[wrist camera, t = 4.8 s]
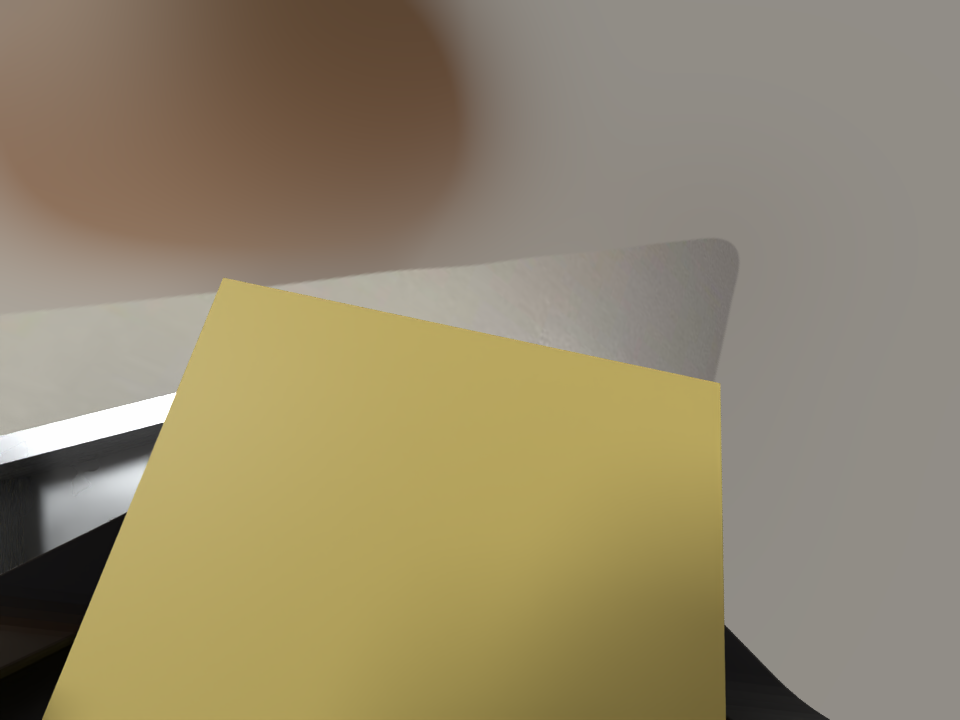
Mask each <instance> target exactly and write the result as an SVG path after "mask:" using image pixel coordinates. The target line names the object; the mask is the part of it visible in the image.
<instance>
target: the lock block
mask: <svg viewBox="0 0 960 720" xmlns="http://www.w3.org/2000/svg"><path fill="white" fill-rule="evenodd" d="M721 462H722V461H721V402H720V383H716V382H711V381H707V380H702V379H697V378H692V377H688V376H683V375H678V374H674V373H669V372H664V371H660V370H655V369H650V368H645V367H641V366H636V365H631V364H627V363H622V362H617V361H613V360H608V359H603V358H598V357H594V356H589V355H584V354H580V353H575V352H570V351H566V350H561V349H556V348H551V347H547V346H542V345H537V344H533V343H528V342H523V341H518V340H514V339H509V338H504V337H500V336H495V335H490V334H486V333H481V332H476V331H471V330H467V329H462V328H457V327H453V326H448V325H443V324H439V323H434V322H429V321H424V320H420V319H415V318H410V317H406V316H401V315H396V314H392V313H387V312H382V311H377V310H373V309H368V308H363V307H359V306H354V305H349V304H345V303H340V302H335V301H330V300H326V299H321V298H316V297H312V296H307V295H302V294H297V293H293V292H288V291H283V290H279V289H274V288H269V287H265V286H260V285H255V284H250V283H246V282H241V281H236V280H232V279H227V278H223V280H222V282H221V285H220V287H219V289H218V292H217V294H216V297H215V299H214V302H213V304H212V306H211V309H210V311H209V314H208V316H207V319H206V321H205V324H204V326H203V328H202V331H201V333H200V336H199V338H198V341H197V343H196V345H195V348H194V350H193V353H192V355H191V358H190V360H189V363H188V365H187V367H186V370H185V372H184V375H183V377H182V380H181V382H180V384H179V387H178V389H177V392H176V394H175V397H174V399H173V402H172V404H171V406H170V409H169V411H168V414H167V416H166V419H165V421H164V423H163V426H162V428H161V431H160V433H159V436H158V438H157V441H156V443H155V445H154V448H153V450H152V453H151V455H150V458H149V460H148V462H147V465H146V467H145V470H144V472H143V475H142V477H141V480H140V482H139V484H138V487H137V489H136V492H135V494H134V497H133V499H132V502H131V504H130V506H129V509H128V511H127V514H126V516H125V519H124V521H123V523H122V526H121V528H120V531H119V533H118V536H117V538H116V541H115V543H114V545H113V548H112V550H111V553H110V555H109V558H108V560H107V562H106V565H105V567H104V570H103V572H102V575H101V577H100V580H99V582H98V584H97V587H96V589H95V592H94V594H93V597H92V599H91V601H90V604H89V606H88V609H87V611H86V614H85V616H84V619H83V621H82V623H81V626H80V628H79V631H78V633H77V636H76V638H75V640H74V643H73V645H72V648H71V650H70V653H69V655H68V658H67V660H66V662H65V665H64V667H63V670H62V672H61V675H60V677H59V680H58V682H57V684H56V687H55V689H54V692H53V694H52V697H51V699H50V701H49V704H48V706H47V709H46V711H45V714H44V716H43V719H42V720H726V699H725V640H724V584H723V583H724V581H723V523H722V522H723V521H722V464H721Z"/></svg>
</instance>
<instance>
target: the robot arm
mask: <svg viewBox="0 0 960 720" xmlns="http://www.w3.org/2000/svg"><path fill="white" fill-rule="evenodd" d="M126 514H127V512H126V513H124V514H122V515H120V516H118V517H116V518H114V519H112V520H110V521H108V522H106V523H104V524H102V525H100V526H98V527H96V528H94V529H92V530H90V531H88V532H86V533H84V534H82V535H80V536H78V537H76V538H74V539H72V540H70V541H68V542H66V543H64V544H62V545H60V546H58V547H55V548H53V549H51V550H49V551H47V552H45V553H43V554H41V555H39V556H37V557H35V558H33V559H31V560H29V561H27V562H25V563H23V564H21V565H19V566H17V567H14V568H12V569H10V570H8V571H6V572H4V573H2V574H0V720H42V719H43V716H44V714H45V711H46V709H47V706H48V704H49V701H50V699H51V697H52V694H53V692H54V689H55V687H56V684H57V682H58V680H59V677H60V675H61V672H62V670H63V667H64V665H65V662H66V660H67V658H68V655H69V653H70V650H71V648H72V645H73V643H74V640H75V638H76V636H77V633H78V631H79V628H80V626H81V623H82V621H83V619H84V616H85V614H86V611H87V609H88V606H89V604H90V601H91V599H92V597H93V594H94V592H95V589H96V587H97V584H98V582H99V580H100V577H101V575H102V572H103V570H104V567H105V565H106V562H107V560H108V558H109V555H110V553H111V550H112V548H113V545H114V543H115V541H116V538H117V536H118V533H119V531H120V528H121V526H122V523H123V521H124V519H125V516H126ZM724 640H725V699H726V720H829V719H828V718H826V717H825V716H823V715H822V714H820V713H818V712H817V711H815V710H814V709H813V708H811V707H810V706H808V705H807V704H806V703H804V702H803V701H802V700H801V699H799V698H798V697H797V696H796V695H795V694H793V693H792V692H791V691H790V690H789V689H788V688H786V687H785V686H784V685H783V684H782V683H781V682H780V681H779V680H778V679H777V678H776V677H775V676H774V675H773V674H772V673H771V672H770V671H769V670H768V669H767V668H766V667H765V666H764V665H763V664H762V663H761V662H760V661H759V660H758V658H757V657H756V656H755V655H754V654H753V653H752V652H751V651H750V650H749V649H748V648H747V647H746V646H745V645H744V644H743V643H742V642H741V641H740V640H739V639H738V638H737V637H736V636H735V635H734V634H733V633H732V632H731V631H730V630H729V629H728V628H727V627H726V626H725V625H724Z"/></svg>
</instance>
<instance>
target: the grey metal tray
mask: <svg viewBox="0 0 960 720" xmlns="http://www.w3.org/2000/svg"><path fill="white" fill-rule="evenodd" d="M175 394H176V393H173V394H169V395H165V396H161V397H157V398H153V399H149V400H145V401H141V402H137V403H133V404H129V405H125V406H121V407H116V408H112V409H108V410H104V411H100V412H96V413H92V414H88V415H84V416H80V417H76V418H72V419H68V420H64V421H59V422H55V423H51V424H47V425H43V426H39V427H35V428H31V429H27V430H23V431H19V432H15V433H11V434H7V435H2V436H0V574H2V573H4V572H6V571H8V570H10V569H12V568H14V567H17V566H19V565H21V564H23V563H25V562H27V561H29V560H31V559H33V558H35V557H37V556H39V555H41V554H43V553H45V552H47V551H49V550H51V549H53V548H55V547H58V546H60V545H62V544H64V543H66V542H68V541H70V540H72V539H74V538H76V537H78V536H80V535H82V534H84V533H86V532H88V531H90V530H92V529H94V528H96V527H98V526H100V525H102V524H104V523H106V522H108V521H110V520H112V519H114V518H116V517H118V516H120V515H122V514H124V513H126V512H127V511H128V509H129V506H130V504H131V502H132V499H133V497H134V494H135V492H136V489H137V487H138V484H139V482H140V480H141V477H142V475H143V472H144V470H145V467H146V465H147V462H148V460H149V458H150V455H151V453H152V450H153V448H154V445H155V443H156V441H157V438H158V436H159V433H160V431H161V428H162V426H163V423H164V421H165V419H166V416H167V414H168V411H169V409H170V406H171V404H172V402H173V399H174V397H175Z"/></svg>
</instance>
